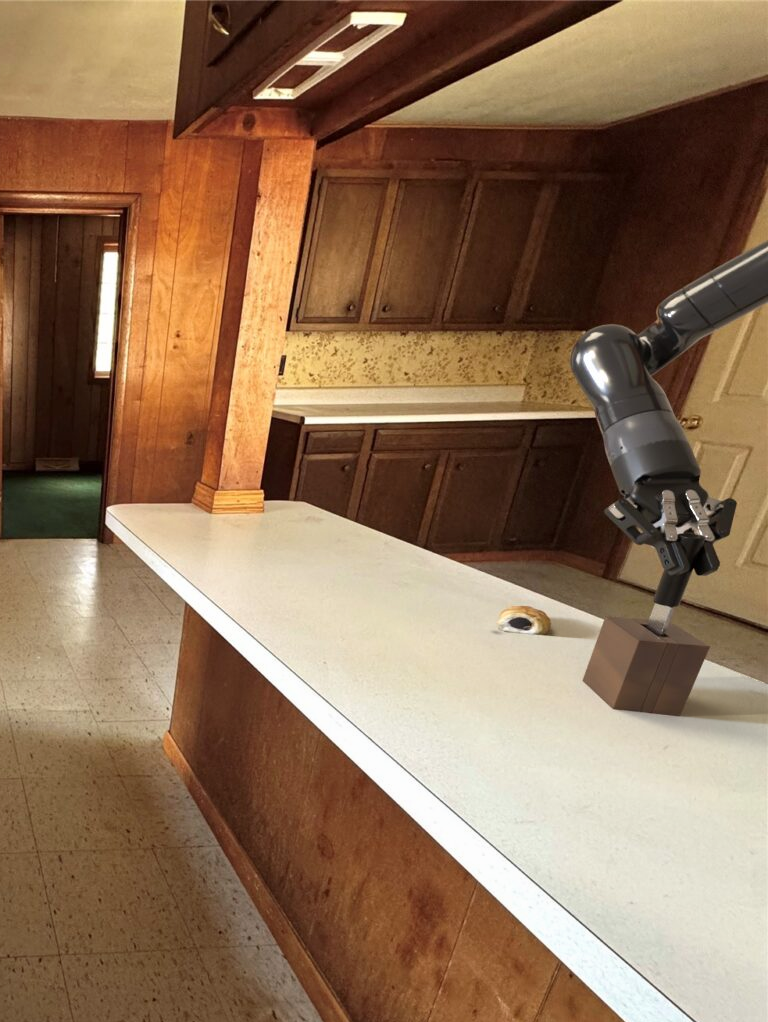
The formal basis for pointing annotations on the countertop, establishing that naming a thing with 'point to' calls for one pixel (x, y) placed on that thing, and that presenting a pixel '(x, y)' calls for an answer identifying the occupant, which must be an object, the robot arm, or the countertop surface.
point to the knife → (673, 586)
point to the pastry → (524, 620)
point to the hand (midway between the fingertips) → (694, 572)
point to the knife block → (644, 666)
